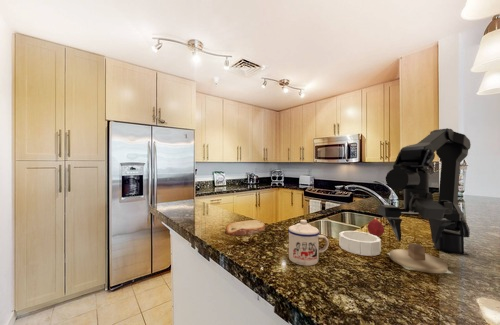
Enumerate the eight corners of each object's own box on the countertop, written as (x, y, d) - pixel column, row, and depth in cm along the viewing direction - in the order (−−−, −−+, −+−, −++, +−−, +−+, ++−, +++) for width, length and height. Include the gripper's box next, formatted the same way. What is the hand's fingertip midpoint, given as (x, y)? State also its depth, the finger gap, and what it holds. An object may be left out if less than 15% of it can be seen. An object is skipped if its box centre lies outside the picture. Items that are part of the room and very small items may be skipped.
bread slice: (264, 224, 101) (264, 217, 101) (268, 237, 83) (269, 227, 83) (227, 224, 100) (227, 216, 100) (224, 236, 82) (224, 227, 82)
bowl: (371, 244, 75) (371, 232, 75) (387, 258, 63) (387, 243, 63) (336, 241, 77) (336, 229, 77) (345, 255, 65) (345, 240, 65)
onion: (387, 240, 80) (387, 219, 80) (372, 240, 80) (372, 219, 80) (378, 235, 85) (378, 216, 86) (364, 235, 86) (364, 216, 86)
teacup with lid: (290, 266, 57) (290, 223, 57) (285, 252, 66) (286, 216, 66) (334, 267, 56) (334, 225, 57) (323, 254, 66) (323, 217, 66)
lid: (427, 255, 65) (426, 239, 65) (461, 275, 52) (461, 256, 52) (382, 251, 67) (381, 236, 67) (404, 270, 54) (404, 252, 55)
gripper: (394, 190, 54) (395, 249, 54) (478, 192, 51) (479, 256, 50) (376, 186, 65) (377, 236, 65) (444, 188, 62) (445, 240, 61)
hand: (416, 241), depth 60 cm, fingers open, 9 cm apart
